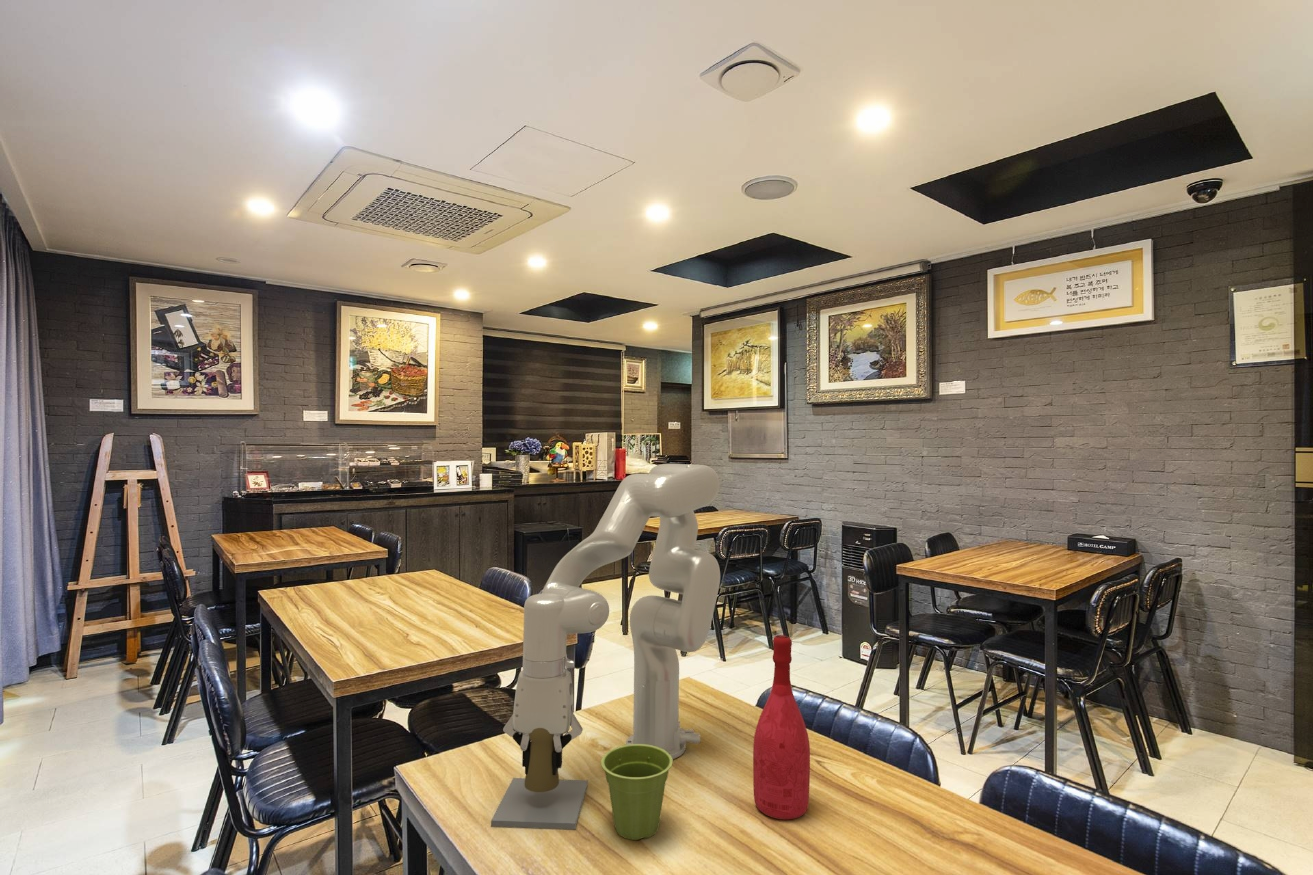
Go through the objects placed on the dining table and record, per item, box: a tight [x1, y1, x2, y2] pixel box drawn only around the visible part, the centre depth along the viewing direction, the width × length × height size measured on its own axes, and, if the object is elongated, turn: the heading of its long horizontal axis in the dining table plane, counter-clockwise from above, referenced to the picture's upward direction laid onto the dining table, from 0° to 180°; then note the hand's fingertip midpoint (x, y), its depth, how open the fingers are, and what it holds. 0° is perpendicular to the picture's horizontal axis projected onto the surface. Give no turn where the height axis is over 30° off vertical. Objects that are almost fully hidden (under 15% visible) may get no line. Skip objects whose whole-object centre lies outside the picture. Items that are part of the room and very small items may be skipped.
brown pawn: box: [524, 728, 560, 792], centre depth 114 cm, size 6×6×11 cm
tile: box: [490, 777, 589, 831], centre depth 114 cm, size 14×14×1 cm
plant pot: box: [600, 744, 674, 841], centre depth 107 cm, size 12×12×11 cm
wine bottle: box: [752, 634, 811, 820], centre depth 114 cm, size 10×10×30 cm
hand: (542, 769), depth 114 cm, fingers closed on brown pawn, 4 cm apart
